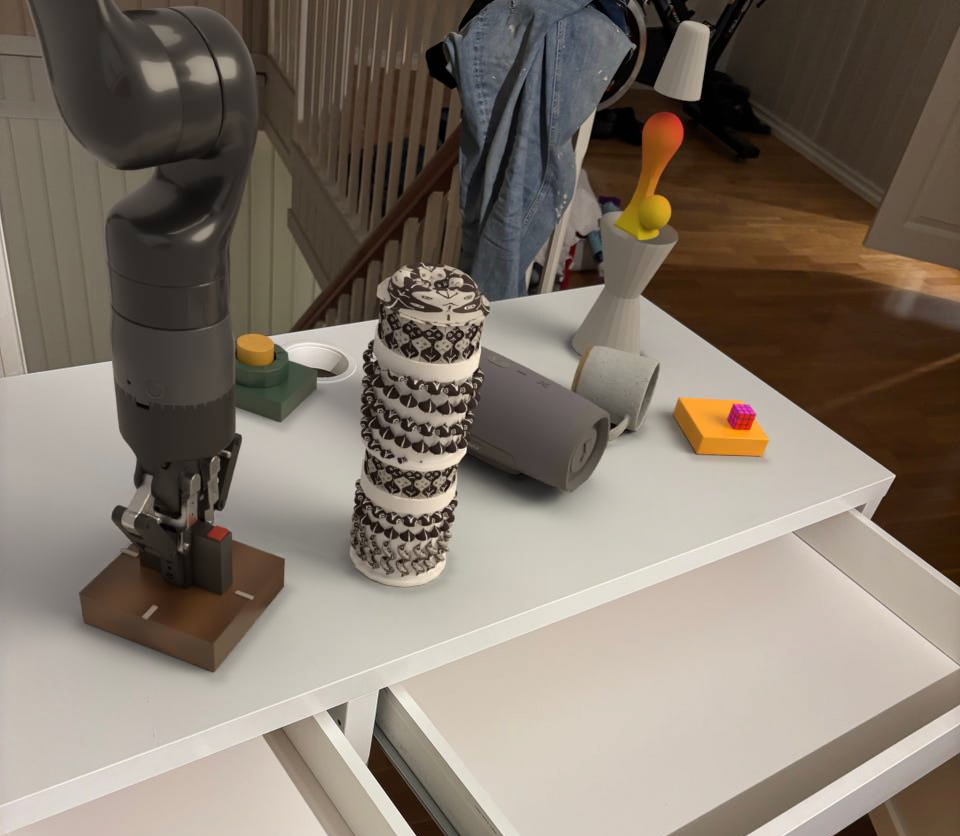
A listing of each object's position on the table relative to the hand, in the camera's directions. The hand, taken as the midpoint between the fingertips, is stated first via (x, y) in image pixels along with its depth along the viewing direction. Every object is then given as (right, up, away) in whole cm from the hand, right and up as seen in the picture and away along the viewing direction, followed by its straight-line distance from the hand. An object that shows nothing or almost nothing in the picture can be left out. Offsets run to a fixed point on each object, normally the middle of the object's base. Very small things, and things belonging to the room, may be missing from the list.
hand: (186, 574), depth 74 cm
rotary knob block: (-1, -2, +2) cm, 3 cm away
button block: (-1, +21, +26) cm, 33 cm away
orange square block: (+49, +18, +35) cm, 63 cm away
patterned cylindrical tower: (+15, +2, +11) cm, 19 cm away
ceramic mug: (+36, +19, +33) cm, 52 cm away
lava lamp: (+38, +31, +46) cm, 67 cm away
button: (0, +23, +23) cm, 33 cm away
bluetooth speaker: (+23, +14, +25) cm, 37 cm away
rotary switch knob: (0, 0, 0) cm, 0 cm away
